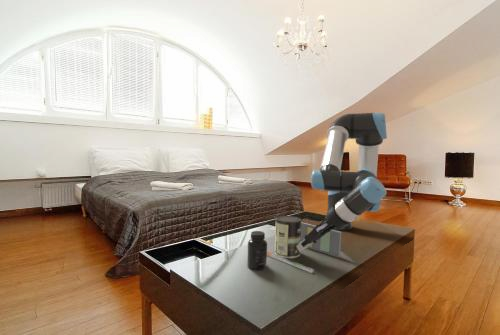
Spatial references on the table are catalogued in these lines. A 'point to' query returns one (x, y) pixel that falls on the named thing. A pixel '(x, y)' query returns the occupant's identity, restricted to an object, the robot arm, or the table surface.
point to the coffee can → (287, 236)
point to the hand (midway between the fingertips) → (298, 248)
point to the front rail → (290, 262)
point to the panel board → (323, 240)
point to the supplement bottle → (257, 251)
